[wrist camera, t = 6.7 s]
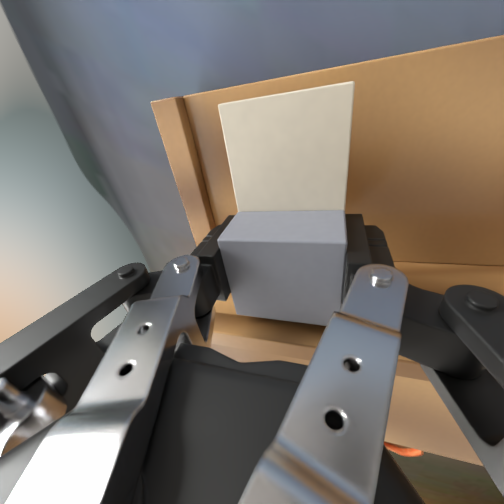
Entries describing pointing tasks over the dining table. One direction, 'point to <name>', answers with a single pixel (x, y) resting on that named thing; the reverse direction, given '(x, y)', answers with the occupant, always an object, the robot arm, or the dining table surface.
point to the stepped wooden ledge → (377, 198)
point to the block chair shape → (288, 202)
